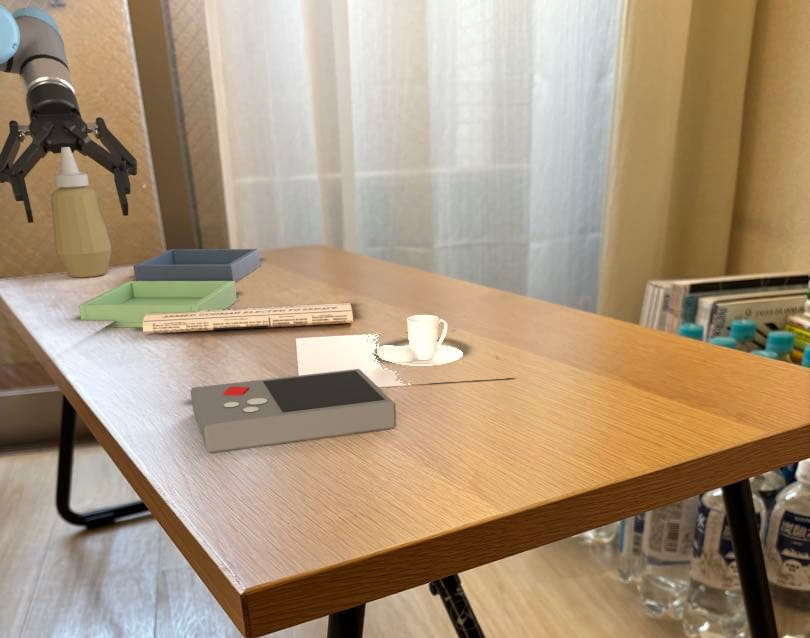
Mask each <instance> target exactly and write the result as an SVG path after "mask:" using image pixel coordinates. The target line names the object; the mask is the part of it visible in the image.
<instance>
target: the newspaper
mask: <svg viewBox="0 0 810 638" xmlns="http://www.w3.org/2000/svg"><path fill="white" fill-rule="evenodd" d="M351 323H352V324H353V323H354V314H353V309H352V305H351V302H345V303H326V304H307V305H288V306H287V305H285V306H267V307H266V306H265V307H264V306H263V307H247V308H246V307H245V308H227V309H224V310H205V311H199V312H167V313H147V314H146V315H145V317H144V320H143V327H142V332H143V334H144V335H148V334H164V333H165V334H166V333H184V332H185V333H188V332H203V331H204V332H205V331H222V330H223V331H225V330H241V329H244V330H245V329H260V328H261V329H263V328H278V327H280V328H281V327H298V326H299V327H300V326H319V325H335V324H336V325H337V324H351Z"/></svg>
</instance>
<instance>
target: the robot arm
mask: <svg viewBox="0 0 810 638" xmlns="http://www.w3.org/2000/svg"><path fill="white" fill-rule="evenodd" d="M0 72H3V73H8V74H15V75H19V80H20V84H21V87H22V92H23V97H24V100H25V105H26V109H27V113H28V114H27V115H28V117H29V124H28V125H25V124H23V125H22V124H19V123H18V121H16V120H15V119H14V120H13V119H12V120H10V121H9V122H8V126H9V133H8V135H7V138H6V139H5V142H4V144H3V147H2V149H1V151H0V184H4V183H8V184H10V185H11V189H12V194H13V199H14V201H16V202H23V205H24V210H25V215H26V220H27V223H28V224H31V223H34V217H33V210H32V206H31V202H30V198H29V193H28V189H27V183H26V180H25V179H26V177H27V176H28V175H29V173H30V172H31V171H32V170H33V169H34V168H35V166H36V165H37V164H38V162H39V161H40V160H41V159H44V158H46V156H47V155H48V153H49V152H50V153H52V154H53V155H54V154H55V155H57V154H61V147H70V149H71V152H72V154H74V153H75V151H77V153H79V154H81V155H82V156H84V157H88V158H90V159H91V160H92V161H94V162H95V163H97V164H98V165H99V166H102V168H104V169H105V170H107V171H108V172H110V173H111V174H112V175H113V178H114V180H113V181H114V185H115V189H116V193H117V197H118V201H119V205H120V208H121V212H122V216H123V217H126V216H129V202H128V198H127V195H131V191H132V187H131V181H130V177H129V176H136V175H137V174H138V160H137V158H136V157H135V156H134V155H133V154H132V153H131V152H130V151H129V150H128V149H127V148H126V147H125V145H123V143H121V141H120V140H119V139H118V138H117V137H116V136H115V134H113V133H112V132H111V131H110V129H108V127H107V124H106V122H105V119H104V118H103V117H99V116H98V117H96V118H95V122H86V121H84V120H83V117H82V114H81V110H80V106H79V102H78V98H77V96H76V95H77V94H76V90H75V87H74V82H73V79H72V75H71V71H70V69H69V64H68V59H67V54H66V50H65V43H64V39H63V37H62V35H61V32H60V29H59V27H58V24H57V22H56V20H55V19H54V18H53V16H52V15H51V14H50V13H48V12H47V11H46V10H44V9H42V8H40V7H36V6H27V7H24V8H22V7H20V8H17V9H16V10H14V11H13V12H12V13H11V12H10V11H9V10H8V9H7V8H6V7H4V6H3V5H2V4H0ZM89 134H91V135H92V136H94V137H95V139H96V140H99V142H100V143H101V144H102V145H100V144H98V143H96V142H95V141H94V140H93V139H92V138H91V137H90V135H89ZM28 136H30V137H31V139H32V140H31V143H29V145H28V146H27V147H26V149H25V150H24V151H23V152H22V153H21V154H20V156H19V157H18V158H17V156H18V153H19V151H20V149H21V143H25V142H24V141H25V140H26V138H27V137H28ZM103 146H104V147H105V148H104V147H103ZM16 158H17V159H16Z"/></svg>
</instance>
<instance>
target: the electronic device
mask: <svg viewBox="0 0 810 638" xmlns="http://www.w3.org/2000/svg"><path fill="white" fill-rule="evenodd" d="M190 399H191V405H192V412H193V414H194V418H195V420H196V423H197V426H198V428H199V431H200V435H201V437H202V440H203V443H204V446H205V448H206V450H207V452H209V453H210V454H214V453H223V452H229V451H237V450H243V449H251V448H252V449H253V448H259V447H267V446H274V445H281V444H288V443H296V442H297V443H298V442H304V441H311V440H318V439H326V438H335V437H343V436H349V435H357V434H363V433H371V432H379V431H387V430H393V429H395V428H396V427H397V409H396V402H394V401H393V400H392V399H391V398H390V397H389V396H388V395H387V394H386V393H385V392H384V391H383V390H382V389H381V387H377V386H376V385H375V384H374V383H373V382H372V381H371V380H370V379H369V378H368V377H367V376H366V375H365V374H364V373H363V372H362V371H361V370H360V369H353V370H344V371H335V372H326V373H318V374H309V375H300V376H299V375H291V376H285V377H273V378H266V379H257V380H248V381H240V382H231V383H221V384H213V385H203V386H196V387H195V386H194V387H192V388H191V389H190Z"/></svg>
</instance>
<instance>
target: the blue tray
mask: <svg viewBox="0 0 810 638" xmlns="http://www.w3.org/2000/svg"><path fill="white" fill-rule="evenodd" d="M260 253H261V252H260V249H259V248H192V249H191V248H181V249H180V248H176V249H173V248H172V249H171V248H170V249H167V250H165V251H163V252H161V253H159V254H157V255H154V256H152V257H150V258H148V259H145V260H143V261H141V262H138V263H136V264H134V265H133V266H132V267H133V273H134V279H135V280H134V281H235V284H236V283H237V282H238V281H240V280H242V279H243V278H245V277H247V276H248V275H250V274H251V273H252V272H254V271H255V270H256V269H258V268H260V267H262V266H261V265H262V263H261V255H260Z"/></svg>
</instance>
